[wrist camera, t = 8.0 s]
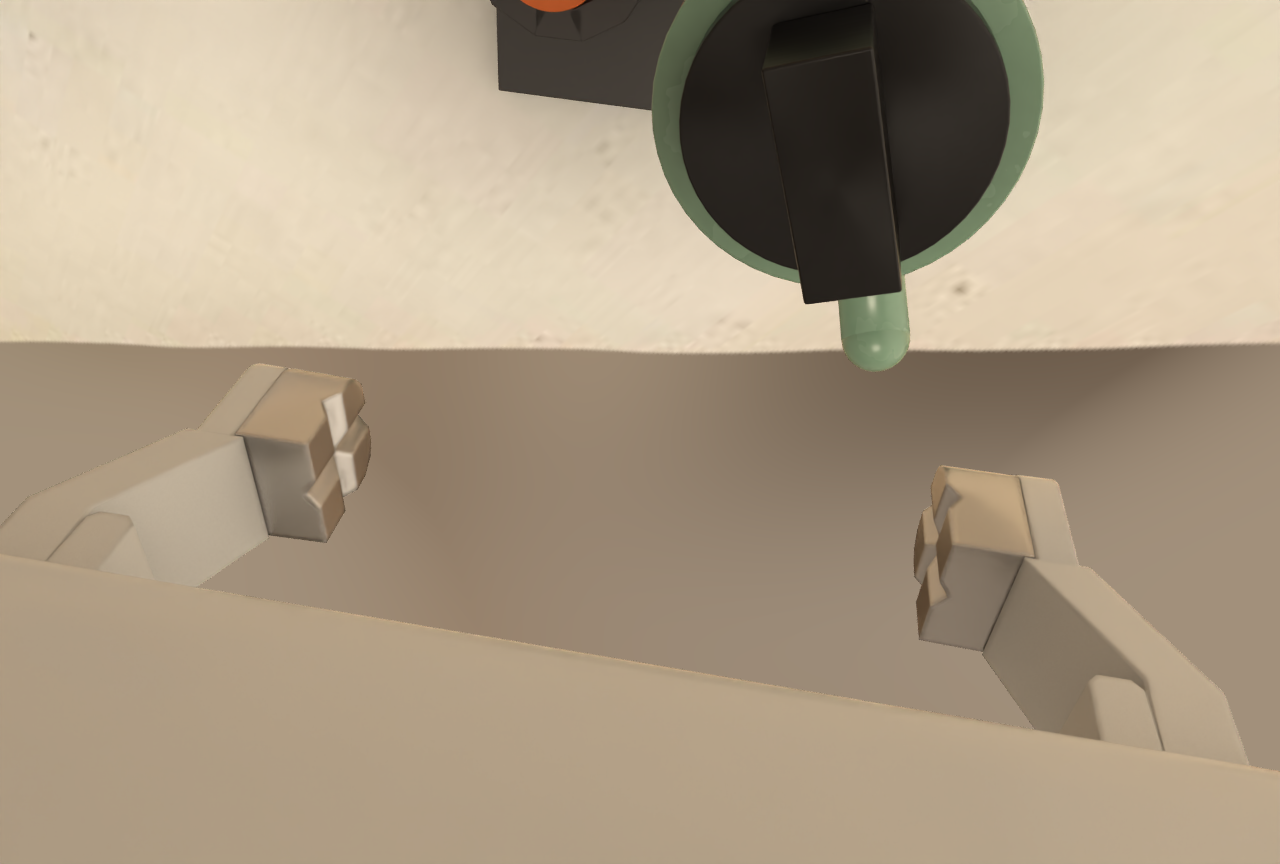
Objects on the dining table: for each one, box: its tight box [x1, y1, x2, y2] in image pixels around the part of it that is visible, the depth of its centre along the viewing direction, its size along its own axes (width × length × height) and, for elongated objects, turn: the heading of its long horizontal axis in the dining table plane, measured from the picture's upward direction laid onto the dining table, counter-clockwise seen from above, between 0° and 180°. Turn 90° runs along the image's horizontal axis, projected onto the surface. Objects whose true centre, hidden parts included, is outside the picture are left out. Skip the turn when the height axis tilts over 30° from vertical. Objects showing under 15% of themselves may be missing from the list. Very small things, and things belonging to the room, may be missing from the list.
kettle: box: [652, 0, 1044, 372], centre depth 27 cm, size 17×9×17 cm, turn 15°
